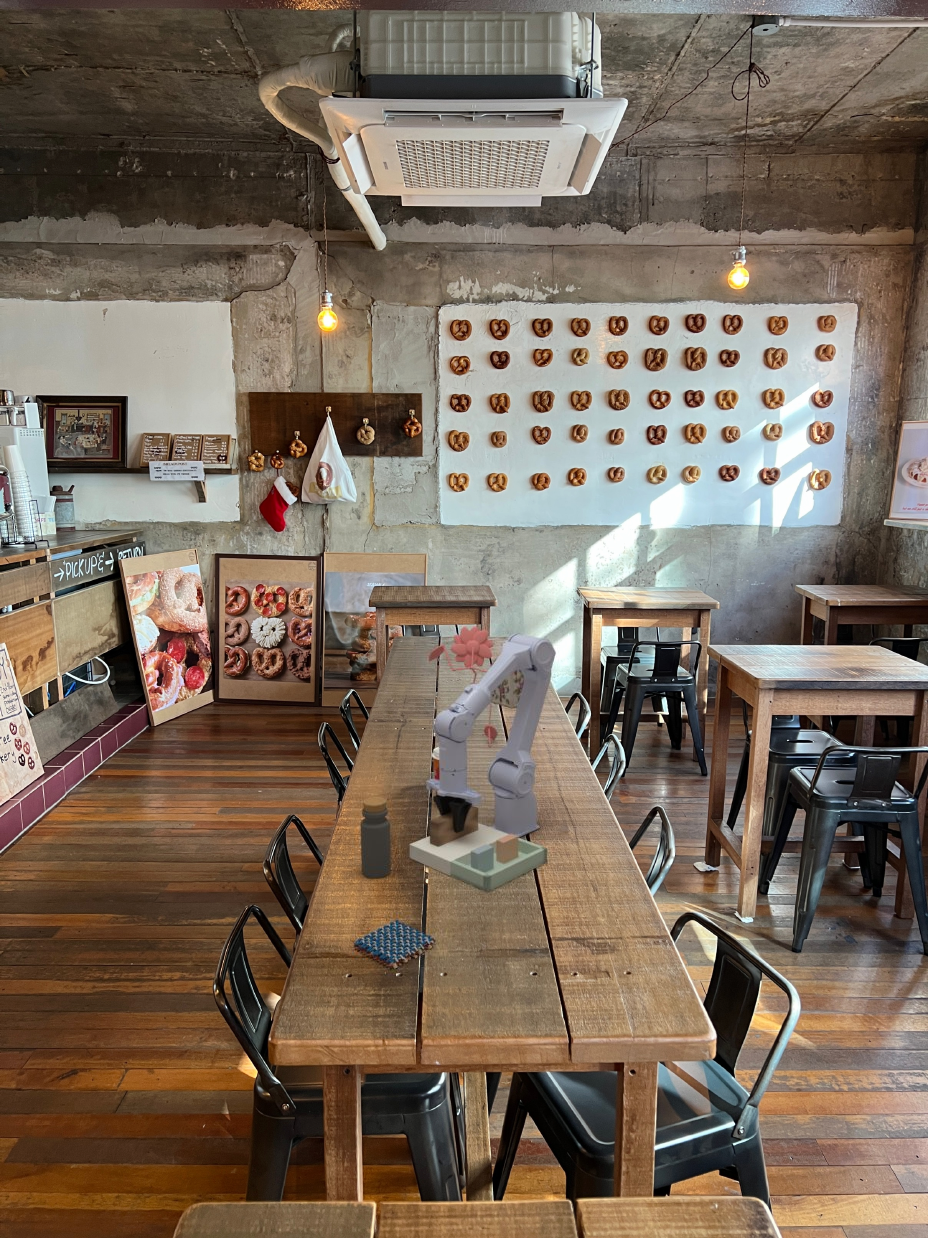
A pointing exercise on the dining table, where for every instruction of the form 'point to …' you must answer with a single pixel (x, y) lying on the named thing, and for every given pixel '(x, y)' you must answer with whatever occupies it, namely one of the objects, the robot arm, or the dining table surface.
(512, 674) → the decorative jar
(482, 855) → the tile
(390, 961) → the woven mat
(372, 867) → the bottle
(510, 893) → the dining table surface
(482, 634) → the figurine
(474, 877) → the tray
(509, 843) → the tile
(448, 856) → the bench
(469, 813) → the bar
